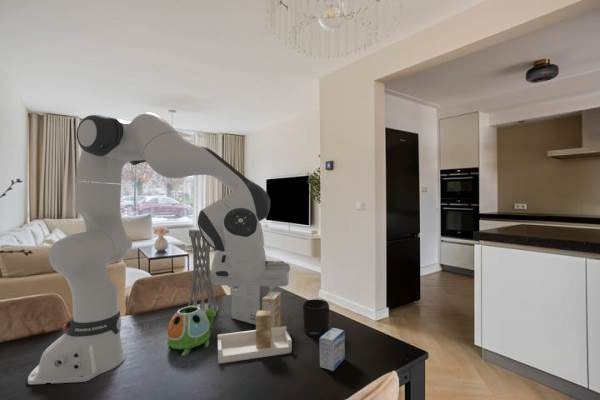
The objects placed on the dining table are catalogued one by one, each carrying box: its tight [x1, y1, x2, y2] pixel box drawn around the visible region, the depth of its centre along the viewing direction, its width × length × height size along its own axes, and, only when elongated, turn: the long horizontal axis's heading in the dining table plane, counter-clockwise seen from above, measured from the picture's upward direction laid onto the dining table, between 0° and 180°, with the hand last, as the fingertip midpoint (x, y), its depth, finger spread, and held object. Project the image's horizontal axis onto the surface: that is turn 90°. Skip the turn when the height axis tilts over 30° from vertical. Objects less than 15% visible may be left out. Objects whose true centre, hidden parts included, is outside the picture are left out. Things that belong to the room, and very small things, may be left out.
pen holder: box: [302, 298, 330, 338], centre depth 110 cm, size 9×9×10 cm
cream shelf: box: [217, 325, 293, 364], centre depth 96 cm, size 22×8×5 cm, turn 106°
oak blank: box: [255, 310, 272, 348], centre depth 97 cm, size 4×4×10 cm
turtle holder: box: [166, 305, 217, 357], centre depth 103 cm, size 12×18×12 cm
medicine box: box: [319, 327, 346, 372], centre depth 90 cm, size 8×4×9 cm, turn 148°
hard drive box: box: [230, 286, 270, 326], centre depth 122 cm, size 16×8×20 cm, turn 58°
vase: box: [187, 227, 219, 314], centre depth 130 cm, size 14×13×35 cm
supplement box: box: [262, 291, 282, 328], centre depth 111 cm, size 8×5×13 cm, turn 168°
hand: (252, 288), depth 86 cm, fingers open, 8 cm apart
